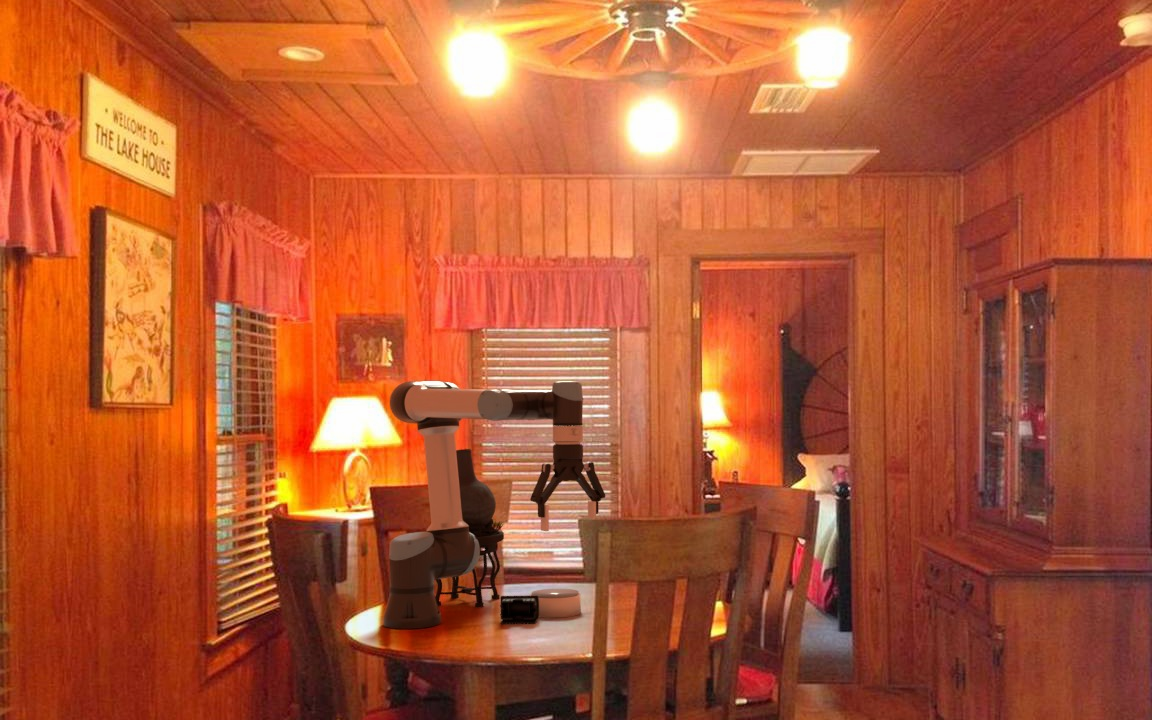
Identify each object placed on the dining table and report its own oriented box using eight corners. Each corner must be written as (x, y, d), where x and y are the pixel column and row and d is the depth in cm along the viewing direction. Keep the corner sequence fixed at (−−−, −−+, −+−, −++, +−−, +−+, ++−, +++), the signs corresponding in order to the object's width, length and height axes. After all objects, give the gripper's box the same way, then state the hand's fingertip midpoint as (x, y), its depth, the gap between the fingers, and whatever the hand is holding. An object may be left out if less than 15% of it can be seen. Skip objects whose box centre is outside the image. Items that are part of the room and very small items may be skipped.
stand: (519, 613, 291) (519, 593, 291) (554, 606, 301) (553, 586, 302) (556, 619, 282) (556, 598, 282) (591, 611, 292) (590, 591, 292)
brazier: (519, 598, 317) (516, 447, 319) (475, 610, 297) (472, 450, 300) (459, 593, 328) (457, 448, 331) (412, 605, 309) (410, 450, 311)
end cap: (539, 619, 283) (539, 593, 283) (537, 624, 276) (536, 598, 276) (502, 619, 283) (501, 594, 284) (499, 624, 276) (498, 598, 277)
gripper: (530, 444, 254) (531, 533, 253) (618, 442, 267) (619, 527, 266) (516, 444, 261) (517, 530, 260) (602, 441, 273) (603, 524, 272)
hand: (568, 529), depth 263 cm, fingers open, 13 cm apart
